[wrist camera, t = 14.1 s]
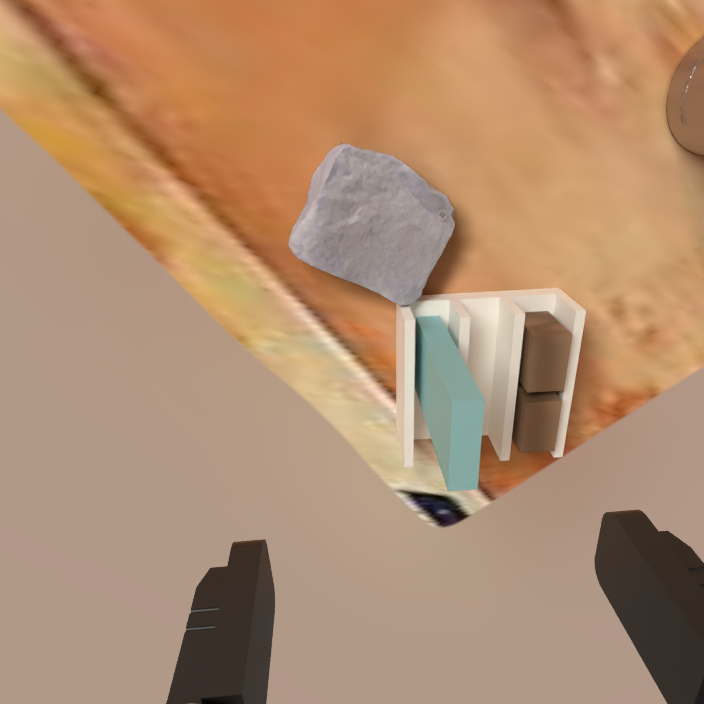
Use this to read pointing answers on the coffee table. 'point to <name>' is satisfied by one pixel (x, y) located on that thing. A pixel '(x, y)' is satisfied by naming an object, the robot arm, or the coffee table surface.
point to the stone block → (373, 223)
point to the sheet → (449, 403)
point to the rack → (483, 357)
